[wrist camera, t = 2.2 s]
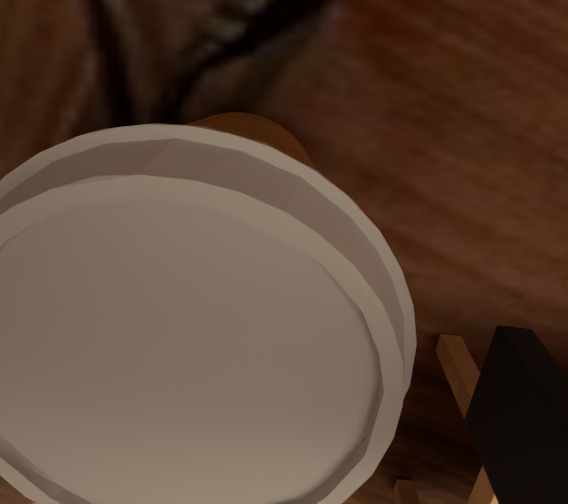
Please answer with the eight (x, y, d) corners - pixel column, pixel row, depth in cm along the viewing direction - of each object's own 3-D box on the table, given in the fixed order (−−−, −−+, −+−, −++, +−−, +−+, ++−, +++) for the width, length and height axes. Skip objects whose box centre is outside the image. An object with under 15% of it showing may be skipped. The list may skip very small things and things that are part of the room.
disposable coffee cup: (122, 278, 22) (-51, 537, 11) (119, 48, 18) (-161, 97, 7) (334, 305, 22) (370, 582, 11) (380, 85, 18) (507, 189, 7)
